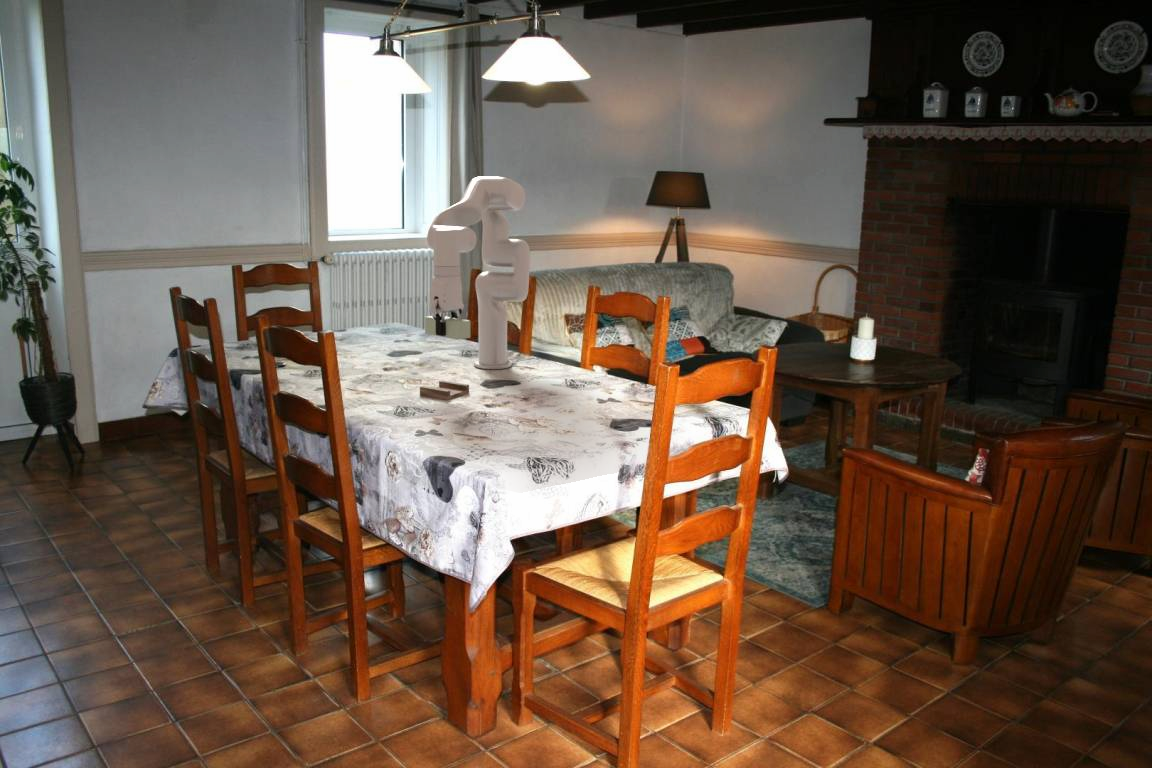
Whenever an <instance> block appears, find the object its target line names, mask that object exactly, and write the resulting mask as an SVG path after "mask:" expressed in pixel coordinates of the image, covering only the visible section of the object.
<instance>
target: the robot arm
mask: <svg viewBox="0 0 1152 768" xmlns="http://www.w3.org/2000/svg"><path fill="white" fill-rule="evenodd" d="M525 202H526V193H525V189H524V188H523V186H522V185H521V184H520V183H518V182H516V181H515V180H513V179H511V178H508V177H504V176H477V177H474V178H472V179H471V180H470V181H469V183H468V185H467V187H466V188H465V190H464V192H463V194H462V196H461V198H460V200H459V202H457V203H455V204H453V205H451V206H450V207H448V208H446V209H444V210H443V211H441V212H439V213H438V214H437V215H436V216H435V218H434V219H433V221H432V223H430V227H429V228H428V230H427V231H428V232H427V235H426V242H427V246H428V247H429V249H430V250H432V251H433V277H432V280H431V283H430V284H431V285H430V291H429V292H430V294H429V314H430V316H433V318H434V321H435V322H436V335H440V336H439V337H441V336H445V335H446V322H444V319H445V316H446V314H447V312H449V317H452V318H458V319H461V314H462V313H463V310H464V307H465V303H464V302H463V286H462V285H463V284H462V279H461V253H469V252H471V251H473V249H475V247H476V245H477V233H476V232H475V230H474V229H473V228H470V227H469V226H472V225H475V224H477V223H480V222H482V237H481V238H482V239H481V240H482V241H481V260H482V263H483V265H484V266H486V267H490V268H501V269H513V272H509V271H508V272H507V271H484V272H481V273H479V274H478V275H477V277H476V278H475V285H474V287H475V293H476V297H477V298H476V299H477V308H478V309H477V310H478V311H477V312H478V314H477V315H478V360H475V361H473V365H474V367H475V368H479V369H484V370H502V369H508V368H510V367H512V366H513V363H512V361H511V360H509V358H510V357H513V356H514V354H515V353H514V351H513V350H508V314H507V310H506V308H505V307H504V304H503V303H502V302H512V303H513V302H516V303H521V302H523V301H525V300H526V299H527V297H528V294H529V285H530V284H529V283H530V269H531V268H530V267H531V251H530V246H529V244H528V243H527V241H525V240H524V239H518V238H509V229H510V228H509V226H510V224H509V221H508V219H507V217H506V216H505V214H504V213H503V212H502V211H508V212H509V211H511V212H518V211H520V210H522V208H523V207H524V205H525ZM440 314H441V316H440Z"/></svg>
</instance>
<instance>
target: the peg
mask: <svg viewBox="0 0 1152 768" xmlns="http://www.w3.org/2000/svg"><path fill="white" fill-rule="evenodd" d="M439 315H440V314H439ZM440 316H441V315H440ZM444 322H446V335H445V336H440V335H436V322H435V321H434V318H433V316H432V315H429V316H428V315H427V316H424V333H425V334H426V335H432V336H436V337H443V338H447V339H452V340H459V341H460V340H465V339H470V338H471V320H469V319H463V318H460V319H458V318H452V317H450V316H447V315H445V319H444Z"/></svg>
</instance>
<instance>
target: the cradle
mask: <svg viewBox="0 0 1152 768" xmlns="http://www.w3.org/2000/svg"><path fill="white" fill-rule="evenodd" d="M469 393H470V385H469V384H468V383H467V384H465V383H460V382H453V381H448V380H439V381H438V386H436V387H435V386H434V387H430V386H424V385H422V386H419V396H423V397H427V398H432V399H440V400H446V401H448V400H451V399H454V398H458V397H460V396H465V395H467V394H469Z"/></svg>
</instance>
